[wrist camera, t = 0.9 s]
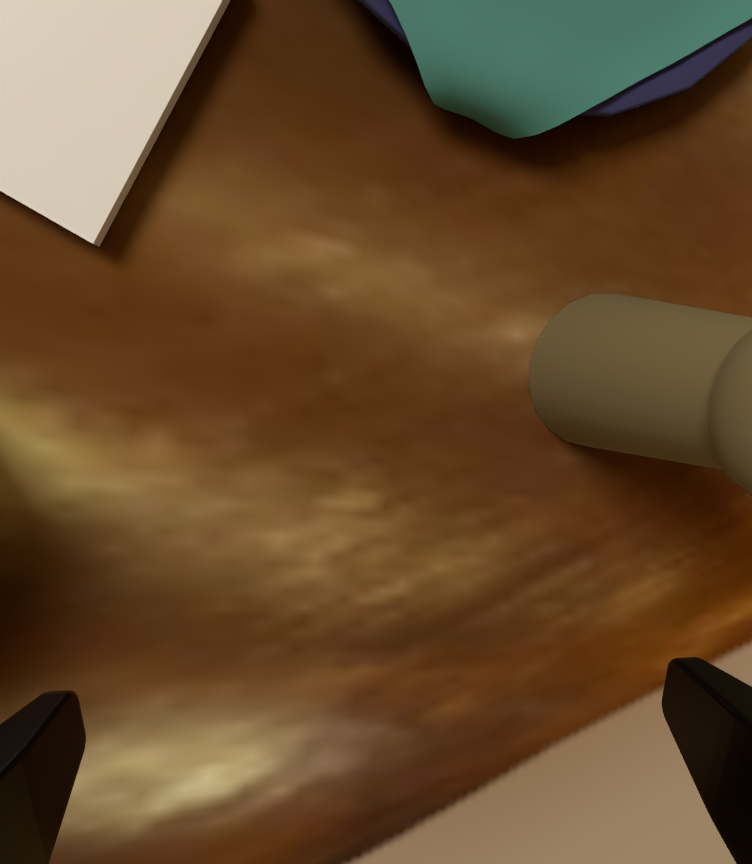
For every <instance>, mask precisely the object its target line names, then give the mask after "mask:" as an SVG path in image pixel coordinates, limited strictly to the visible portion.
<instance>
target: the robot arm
mask: <svg viewBox="0 0 752 864" xmlns="http://www.w3.org/2000/svg"><path fill="white" fill-rule="evenodd" d="M662 709H663V713H664V717H665V719H666V721H667V724H668V725H669V728H670V730H671V732H672V735H673V737H674V739H675V741H676V743H677V745H678V748H679V750H680V752H681V754H682V756H683V759H684V761H685V763H686V765H687V767H688V769H689V772H690V774H691V776H692V778H693V780H694V782H695V785H696V787H697V789H698V791H699V794H700V796H701V798H702V800H703V802H704V804H705V806H706V808H707V810H708V813H709V815H710V817H711V819H712V821H713V822H714V824H715V826H716V828H717V830H718V832H719V833H720V835H721V837H722V839H723V841H724V842H725V844H726V846H727V848H728V849H729V851H730V853H731V855H732V856H733V858H734V860H735V862H736V863H737V864H752V687H751V686H749V685H747V684H746V683H744V682H742V681H740V680H738V679H737V678H735V677H733V676H731V675H729V674H728V673H726V672H724V671H722V670H721V669H719V668H717V667H715V666H713V665H712V664H710V663H708V662H706V661H704V660H702V659H700V658H697V657H689V658H675V659H673V660H671V661H670V663H669V665H668V669H667V674H666V680H665V685H664V691H663V697H662ZM85 743H86V734H85V728H84V723H83V718H82V714H81V709H80V704H79V699H78V696H77V694H76V693H75V692H73V691H70V690H68V691H50V692H45V693H43V694H41V695H40V696H38V697H37V698H36V699H34V700H33V701H32V702H30V703H29V704H28V705H26V706H25V707H23V708H22V709H21V710H19V711H18V712H17V713H15V714H14V715H13V716H11V717H10V718H9V719H7V720H6V721H4V722H3V723H2V724H0V864H48V863H49V860H50V857H51V854H52V851H53V849H54V846H55V842H56V839H57V836H58V833H59V830H60V826H61V823H62V820H63V817H64V814H65V811H66V807H67V804H68V801H69V798H70V795H71V792H72V788H73V785H74V782H75V779H76V776H77V773H78V769H79V766H80V763H81V760H82V757H83V753H84V749H85Z"/></svg>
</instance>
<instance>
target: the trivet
mask: <svg viewBox="0 0 752 864" xmlns="http://www.w3.org/2000/svg"><path fill="white" fill-rule="evenodd" d="M229 2H230V0H0V191H1V192H3V193H5V194H7V195H8V196H10V197H12V198H14V199H15V200H17V201H19V202H21V203H22V204H24V205H26V206H28V207H29V208H31V209H33V210H35V211H36V212H38V213H40V214H42V215H43V216H45V217H47V218H49V219H50V220H52V221H54V222H56V223H57V224H59V225H61V226H63V227H64V228H66V229H68V230H70V231H71V232H73V233H75V234H77V235H78V236H80V237H82V238H84V239H85V240H87V241H89V242H91V243H92V244H94V245H97V246H99V247H100V245H101V243H102V241H103V239H104V237H105V235H106V234H107V232H108V230H109V228H110V226H111V224H112V222H113V220H114V219H115V217H116V215H117V213H118V211H119V209H120V207H121V205H122V203H123V202H124V200H125V198H126V196H127V194H128V192H129V190H130V188H131V187H132V185H133V183H134V181H135V179H136V177H137V175H138V173H139V172H140V170H141V168H142V166H143V164H144V162H145V160H146V158H147V156H148V155H149V153H150V151H151V149H152V147H153V145H154V143H155V141H156V140H157V138H158V136H159V134H160V132H161V130H162V128H163V126H164V125H165V123H166V121H167V119H168V117H169V115H170V113H171V111H172V109H173V108H174V106H175V104H176V102H177V100H178V98H179V96H180V94H181V93H182V91H183V89H184V87H185V85H186V83H187V81H188V79H189V78H190V76H191V74H192V72H193V70H194V68H195V66H196V64H197V62H198V61H199V59H200V57H201V55H202V53H203V51H204V49H205V47H206V46H207V44H208V42H209V40H210V38H211V36H212V34H213V32H214V31H215V29H216V27H217V25H218V23H219V21H220V19H221V17H222V15H223V14H224V12H225V10H226V8H227V6H228V4H229Z"/></svg>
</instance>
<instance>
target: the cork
mask: <svg viewBox="0 0 752 864" xmlns="http://www.w3.org/2000/svg"><path fill="white" fill-rule="evenodd" d="M529 389H530V392H531V396H532V399H533V403H534V406H535V410H536V412H537V413H538V415H539V416H540V418H541V419H542V420H543V422H544V423H545V425H546V426H547V428H548V429H549V430H551V431H552V432H553V433H555V434H556V435H558V436H559V437H560V438H562V439H563V440H565V441H567V442H571V443H575V444H579V445H582V446H587V447H592V448H598V449H604V450H610V451H616V452H622V453H627V454H633V455H639V456H645V457H651V458H657V459H662V460H668V461H674V462H680V463H686V464H692V465H697V466H703V467H709V468H715V469H721V470H723V472H724V474H725V475H726V477H728V478H729V479H730V480H732V481H733V482H734V483H736V484H737V485H738V486H739V487H741V488H742V489H743V490H745V491H746V492H747V493H749V494H750V495H751V496H752V317H746V316H740V315H735V314H729V313H724V312H718V311H713V310H707V309H701V308H696V307H690V306H685V305H679V304H673V303H668V302H662V301H657V300H651V299H645V298H640V297H634V296H629V295H623V294H618V293H599V294H590V295H588V296H585V297H583V298H580V299H578V300H575V301H573V302H571V303H569V304H568V305H567V306H566V307H564V308H563V309H562V310H561V311H560V312H558V313H557V314H556V315H555V316H554V317H552V318H551V320H550V321H549V323H548V324H547V326H546V327H545V329H544V330H543V332H542V333H541V335H540V336H539V338H538V340H537V343H536V346H535V349H534V352H533V355H532V359H531V362H530V383H529Z"/></svg>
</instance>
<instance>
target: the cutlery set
mask: <svg viewBox="0 0 752 864" xmlns="http://www.w3.org/2000/svg"><path fill="white" fill-rule="evenodd" d="M358 1H359V2H360V3H361V4H362V5H363V6H364V7H366V8H367V9H368V10H369V11H370V12H371V13H372V14H373V15H374V16H375V17H376V18H377V19H379V20H380V21H381V22H382V23H383V24H384V25H385V26H386V27H387V28H388V29H389V30H391V31H392V32H393V33H394V34H395V35H396V36H397V37H398V38H399V39H400V40H401V41H403V42H404V43H405V44H406V45H407V46H408V47H409V48H410V49H411V50H412V52H413V54H414V57H415V59H416V62H417V65H418V68H419V71H420V73H421V76H422V79H423V82H424V85H425V88H426V90H427V92H428V94H429V96H430V98H431V100H432V102H433V104H435V105H437V106H439V107H440V108H442V109H445V110H447V111H450V112H453V113H456V114H459V115H462V116H465V117H468V118H471V119H473V120H475V121H476V122H478V123H480V124H482V125H483V126H485V127H487V128H489V129H490V130H492V131H494V132H496V133H498V134H501V135H504V136H507V137H510V138H513V139H516V138H522V137H528V136H534V135H537V134H540V133H542V132H544V131H547V130H549V129H552V128H554V127H556V126H559V125H560V124H562V123H564V122H566V121H568V120H570V119H572V118H573V117H575V116H577V115H582V116H600V117H608V116H613V115H616V114H619V113H622V112H625V111H627V110H630V109H633V108H636V107H639V106H642V105H645V104H648V103H651V102H654V101H657V100H660V99H663V98H666V97H669V96H671V95H674V94H677V93H680V92H683V91H686V90H689V89H691V88H692V87H693V86H694V85H696V84H697V83H698V82H699V81H700V80H702V79H703V78H704V77H705V76H707V75H708V74H709V73H710V72H712V71H713V70H714V69H715V68H717V67H718V66H719V65H720V64H721V63H723V62H724V61H725V60H726V59H728V58H729V57H730V56H731V55H733V54H734V53H735V52H736V51H738V50H739V49H740V48H741V47H742V46H744V45H745V44H746V43H747V42H749V41H750V40H751V39H752V0H358Z"/></svg>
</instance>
